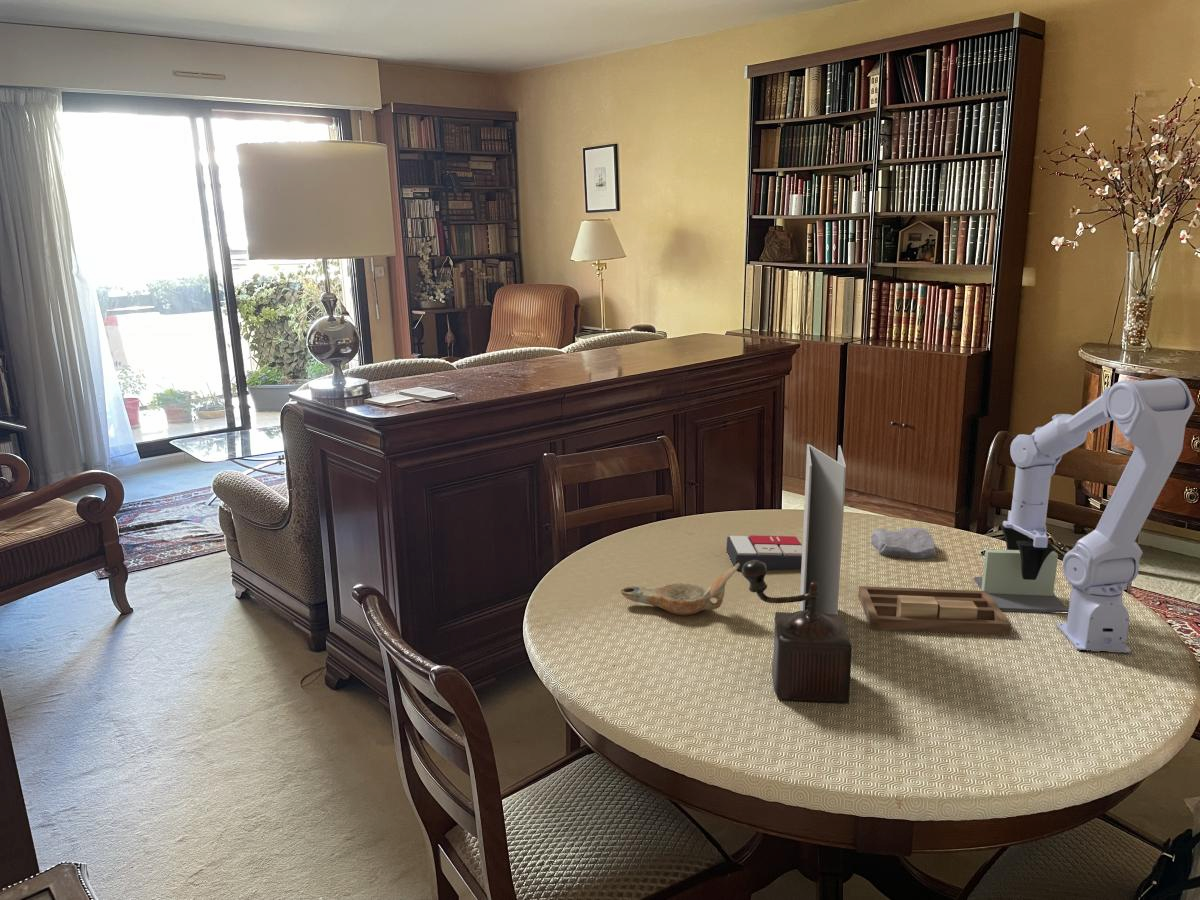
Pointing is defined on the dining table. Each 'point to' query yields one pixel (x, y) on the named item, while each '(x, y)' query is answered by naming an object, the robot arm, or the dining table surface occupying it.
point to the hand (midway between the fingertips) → (1022, 570)
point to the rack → (883, 617)
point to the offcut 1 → (917, 606)
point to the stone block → (904, 543)
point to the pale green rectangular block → (1016, 574)
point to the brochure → (823, 528)
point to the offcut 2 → (957, 609)
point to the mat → (1025, 602)
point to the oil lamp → (682, 595)
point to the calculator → (766, 551)
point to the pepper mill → (806, 647)
